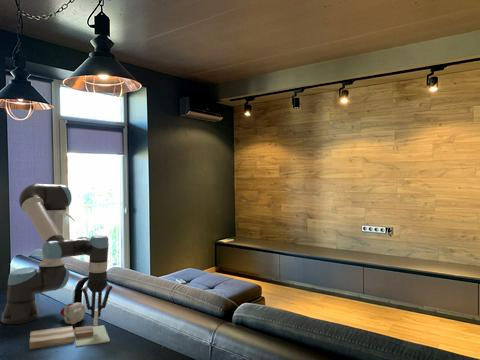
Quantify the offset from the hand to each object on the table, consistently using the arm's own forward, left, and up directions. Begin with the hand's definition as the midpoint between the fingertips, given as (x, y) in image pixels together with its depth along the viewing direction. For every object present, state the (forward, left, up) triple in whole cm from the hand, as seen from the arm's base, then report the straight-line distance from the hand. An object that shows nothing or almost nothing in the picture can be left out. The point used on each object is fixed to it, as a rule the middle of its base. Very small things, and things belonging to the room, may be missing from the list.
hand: (95, 324), depth 158 cm
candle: (-19, -8, -4) cm, 21 cm away
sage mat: (+2, -2, -4) cm, 5 cm away
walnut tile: (0, -5, -3) cm, 6 cm away
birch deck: (0, -17, -4) cm, 17 cm away
